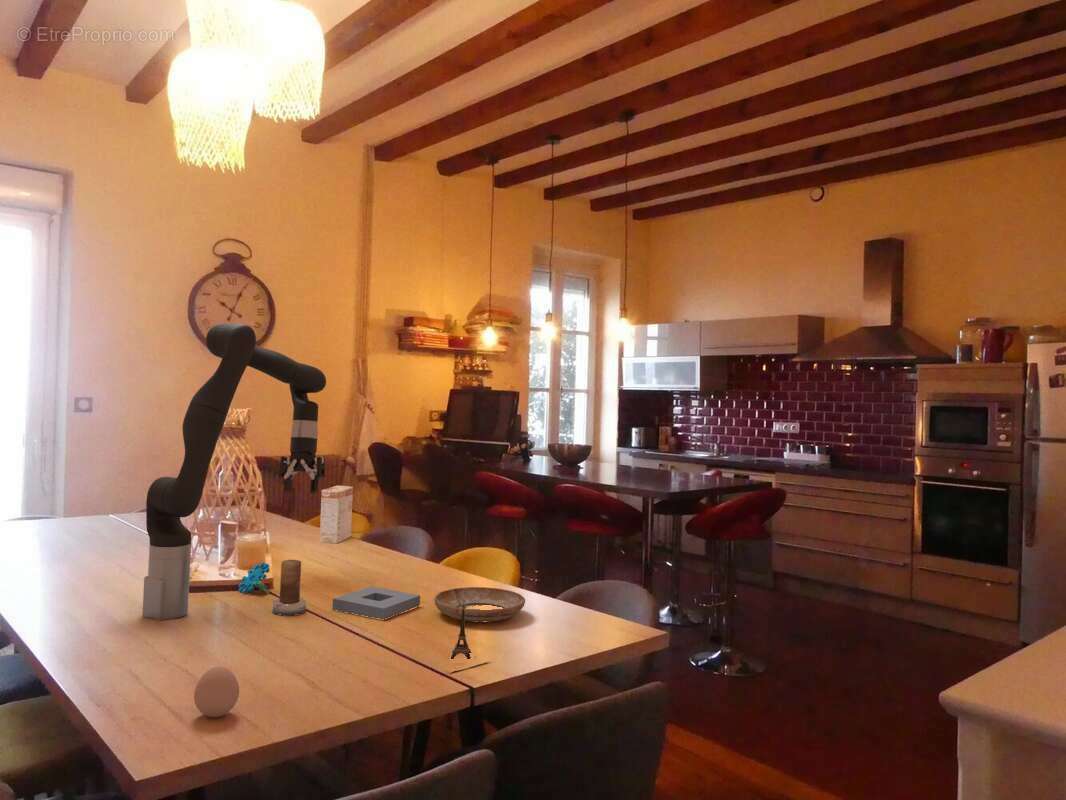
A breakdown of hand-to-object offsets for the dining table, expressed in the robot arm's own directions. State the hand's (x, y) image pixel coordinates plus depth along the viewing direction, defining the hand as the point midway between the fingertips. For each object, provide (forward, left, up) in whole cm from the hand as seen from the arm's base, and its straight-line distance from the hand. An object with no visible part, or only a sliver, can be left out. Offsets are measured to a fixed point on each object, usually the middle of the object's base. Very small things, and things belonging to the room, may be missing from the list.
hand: (300, 492), depth 229 cm
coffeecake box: (+59, +35, -26) cm, 73 cm away
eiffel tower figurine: (-30, -74, -27) cm, 84 cm away
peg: (-23, -19, -24) cm, 38 cm away
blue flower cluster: (-14, +2, -26) cm, 30 cm away
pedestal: (-23, -19, -26) cm, 40 cm away
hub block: (-8, -35, -26) cm, 44 cm away
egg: (-78, -54, -26) cm, 99 cm away
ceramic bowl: (+2, -60, -27) cm, 66 cm away
